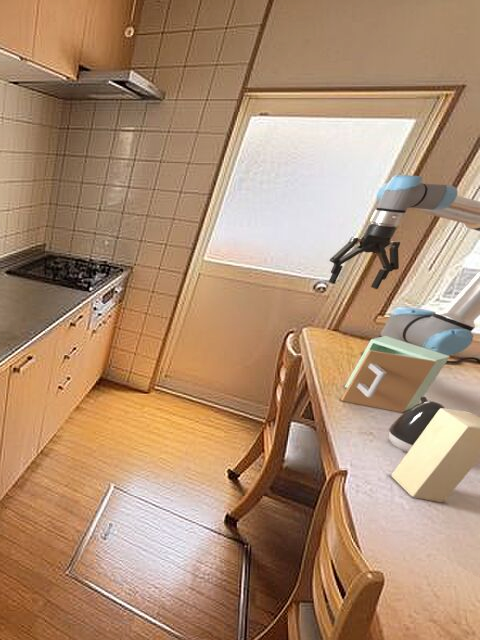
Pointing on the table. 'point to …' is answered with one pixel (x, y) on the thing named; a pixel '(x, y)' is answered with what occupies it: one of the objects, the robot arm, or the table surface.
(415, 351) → the box
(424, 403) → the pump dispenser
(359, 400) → the cooler door
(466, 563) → the table surface
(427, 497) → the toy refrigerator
